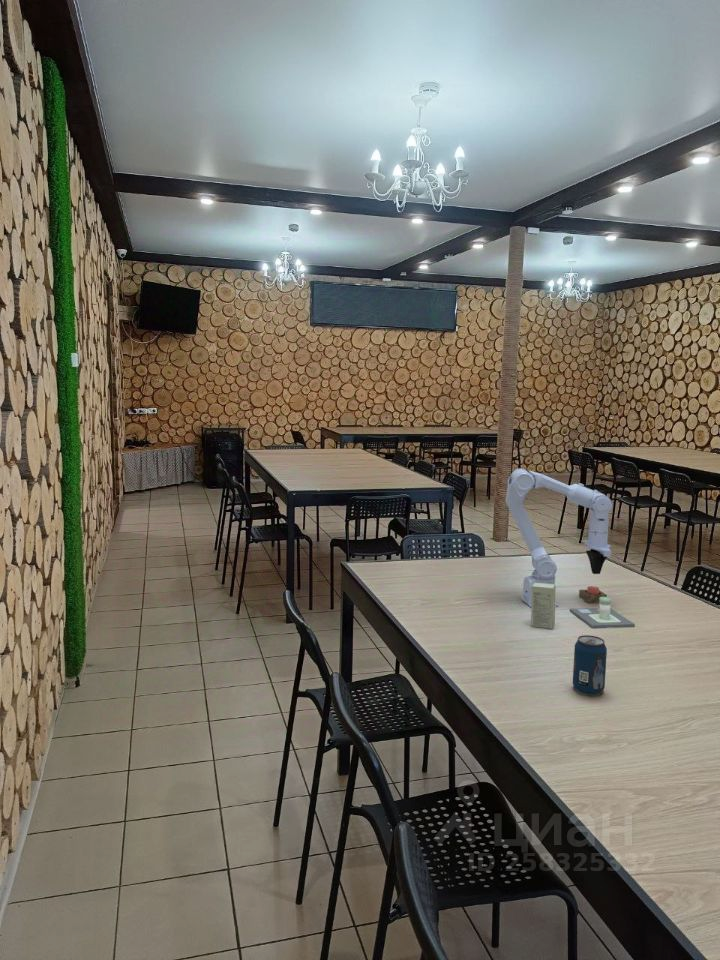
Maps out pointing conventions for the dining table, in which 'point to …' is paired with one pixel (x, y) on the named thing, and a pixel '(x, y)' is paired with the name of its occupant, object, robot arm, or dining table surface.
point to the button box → (591, 596)
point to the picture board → (594, 621)
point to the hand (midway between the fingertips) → (595, 573)
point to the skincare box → (543, 605)
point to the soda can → (589, 665)
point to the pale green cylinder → (604, 607)
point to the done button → (592, 590)
